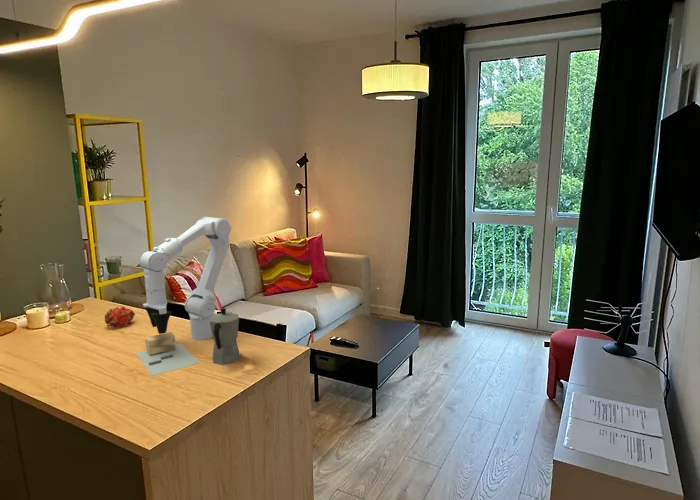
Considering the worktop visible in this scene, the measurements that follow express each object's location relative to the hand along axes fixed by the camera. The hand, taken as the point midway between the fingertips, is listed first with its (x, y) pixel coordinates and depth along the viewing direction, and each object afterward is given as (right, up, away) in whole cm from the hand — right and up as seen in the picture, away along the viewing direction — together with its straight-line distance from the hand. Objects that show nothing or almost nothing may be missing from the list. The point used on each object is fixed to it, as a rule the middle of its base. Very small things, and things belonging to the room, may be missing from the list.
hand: (159, 329), depth 146 cm
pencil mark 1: (+2, -9, -8) cm, 12 cm away
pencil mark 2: (+4, -8, -4) cm, 10 cm away
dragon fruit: (-27, -4, +29) cm, 40 cm away
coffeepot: (+23, -10, -5) cm, 26 cm away
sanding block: (0, -7, +1) cm, 7 cm away
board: (+4, -10, -3) cm, 11 cm away
